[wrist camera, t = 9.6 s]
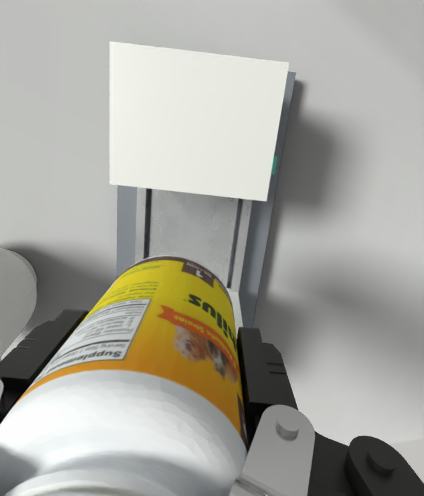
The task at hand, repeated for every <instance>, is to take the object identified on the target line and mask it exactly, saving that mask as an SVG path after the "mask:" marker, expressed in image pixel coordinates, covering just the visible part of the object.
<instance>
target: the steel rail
mask: <svg viewBox="0 0 424 496" xmlns="http://www.w3.org/2000/svg"><path fill="white" fill-rule="evenodd" d="M149 192H150V188H141V187H137V211H136V246H135V263H137V262H139V261H141V260H143V259H146V258H147V239H148V216H149ZM238 199H239V198H231V197H222V196H213V195H204V194H195V193H186V192H177V191H168V190H159V189H152V203H151V226H150V248H149V257H153V256H159V255H177V256H183V257H187V258H190V259H193V260H195V261H197V262H199V263H201V264H203V265H204V266H206V267H207V268H209V269H210V270H211V271H212V272H213V273H215V274H216V275H217V276H218V277H219V279H220V280H221V281H222V283H223V284H224V285H225V287H226V288H227V281H228V273H229V266H230V258H231V251H232V244H233V236H234V229H235V221H236V214H237V206H238ZM251 206H252V200H249V199H242V203H241V210H240V217H239V224H238V232H237V239H236V246H235V253H234V260H233V268H232V275H231V282H230V290H231V292H238V293H239V287H240V280H241V273H242V267H243V260H244V253H245V247H246V240H247V233H248V226H249V220H250V213H251Z"/></svg>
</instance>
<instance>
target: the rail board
mask: <svg viewBox="0 0 424 496" xmlns="http://www.w3.org/2000/svg"><path fill="white" fill-rule="evenodd" d="M295 75H296V73H295V72H288V73H287V79H286V85H285V91H284V98H283V101H284V103H283V109H282V115H281V121H280V127H279V133H278V139H277V145H276V151H275V156H277V163H276V169H275V175H273V174H271V177H270V183H269V189H268V195H267V201H258V200H252V206H251V213H250V220H249V226H248V233H247V240H246V247H245V253H244V260H243V267H242V273H241V280H240V287H239V293H238V295H239V302H240V309H241V316H242V323H243V327H247V328H252V325H253V319H254V313H255V308H256V302H257V296H258V290H259V284H260V279H261V273H262V267H263V261H264V255H265V250H266V244H267V238H268V232H269V226H270V220H271V215H272V209H273V203H274V197H275V191H276V186H277V180H278V174H279V168H280V162H281V157H282V151H283V145H284V139H285V133H286V127H287V122H288V116H289V110H290V104H291V98H292V93H293V87H294V81H295ZM151 203H152V189H150V192H149V216H148V239H147V258H149V248H150V226H151ZM241 203H242V199H240V198H239V199H238V206H237V214H236V221H235V229H234V236H233V244H232V251H231V258H230V266H229V273H228V281H227V288H230V282H231V275H232V268H233V260H234V253H235V246H236V239H237V232H238V224H239V217H240V210H241ZM136 211H137V187H132V186H123V185H118V198H117V277H119V276H120V275H121V274H122V273H123V272H124V271H125V270H126V269H127V268H129V267H130V266H132V265H133V264H135V246H136Z"/></svg>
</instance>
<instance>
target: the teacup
mask: <svg viewBox="0 0 424 496" xmlns="http://www.w3.org/2000/svg"><path fill="white" fill-rule="evenodd" d="M36 285H37V278H36V274H35V271H34V269H33V267H32V266H31V264H30V263H29V262H28V261H27V260H26V259H25V258H24V257H23V256H21V255H20V254H18V253H16V252H14V251H11V250H7V249H3V248H1V247H0V362H1V356H2V355H3V353H4V352H5V351H6V350H7V348H8V347H9V346H10V345H11V344H12V342H13V341H14V340H15V339H16V337H17V336H18V335H19V334H20V333H21V331H22V330H23V329H24V327H25V326H26V324H27V323H28V321H29V320H30V318H31V316H32V314H33V312H34V310H35V306H36V301H37V290H36Z"/></svg>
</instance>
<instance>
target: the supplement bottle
mask: <svg viewBox="0 0 424 496" xmlns="http://www.w3.org/2000/svg"><path fill="white" fill-rule="evenodd" d="M248 452H249V449H248V441H247V432H246V421H245V413H244V404H243V395H242V384H241V375H240V367H239V357H238V348H237V338H236V328H235V319H234V312H233V305H232V301H231V298H230V295H229V293H228V291H227V289H226V287H225V285H224V284H223V283H222V281H221V280H220V279H219V277H218V276H217V275H216V274H215V273H213V272H212V271H211V270H210V269H209V268H207V267H206V266H204V265H203V264H201V263H199V262H197V261H195V260H193V259H190V258H187V257H183V256H177V255H159V256H153V257H149V258H146V259H143V260H141V261H139V262H137V263H135V264H133V265H132V266H130V267H129V268H127V269H126V270H125V271H124V272H123V273H122V274H121V275H120V276H119V277H117V279H116V280H115V282H114V283H113V284H112V285H111V287H110V288H109V289H108V290H107V292H106V293H105V294H104V295H103V296H102V298H101V299H100V300H99V301H98V303H97V304H96V305H95V306H94V307H93V309H92V310H91V311H90V312H89V313H88V315H87V316H86V317H85V319H84V320H83V321H82V322H81V323H80V325H79V326H78V327H77V328H76V329H75V331H74V332H73V333H72V335H71V336H70V337H69V338H68V340H67V341H66V342H65V343H64V345H63V346H62V347H61V348H60V349H59V351H58V352H57V353H56V354H55V356H54V357H53V358H52V359H51V360H50V362H49V363H48V364H47V365H46V367H45V368H44V369H43V370H42V372H41V373H40V374H39V375H38V376H37V378H36V379H35V380H34V382H33V383H32V384H31V385H30V387H29V388H28V389H27V390H26V391H25V393H24V394H23V395H22V396H21V397H20V399H19V400H18V401H17V402H16V404H15V405H14V406H13V408H12V409H11V410H10V411H9V413H8V414H7V416H6V417H5V418H4V420H3V421H2V423H1V424H0V496H229V494H230V491H231V489H232V486H233V484H234V482H235V480H236V478H238V479H239V477H240V474H241V472H242V470H243V467H244V464H245V461H246V458H247V455H248Z"/></svg>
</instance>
